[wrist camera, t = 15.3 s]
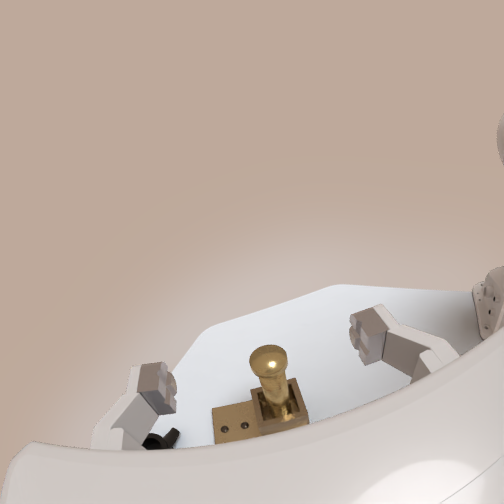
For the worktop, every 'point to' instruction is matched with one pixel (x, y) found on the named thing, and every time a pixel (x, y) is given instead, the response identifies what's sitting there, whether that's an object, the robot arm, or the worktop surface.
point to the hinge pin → (272, 378)
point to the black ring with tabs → (160, 440)
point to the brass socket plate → (257, 417)
